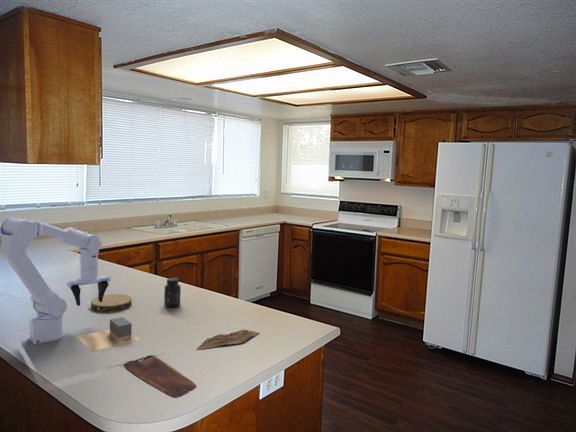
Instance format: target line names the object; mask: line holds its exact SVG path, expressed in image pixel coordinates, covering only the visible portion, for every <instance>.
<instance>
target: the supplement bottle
mask: <svg viewBox="0 0 576 432" xmlns="http://www.w3.org/2000/svg"><path fill="white" fill-rule="evenodd" d="M163 289H164V290H163V291H164V293H163V295H164V296H163V297H164V298H163V299H164V300H163V303H164V307H165V308H167V309H176V308H179V307H180V306H181V295H182V294H181V285H180V284H179V278H178V277H169V278H167V279H166V284H165V285H164V288H163Z"/></svg>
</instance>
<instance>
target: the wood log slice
mask: <svg viewBox="0 0 576 432" xmlns="http://www.w3.org/2000/svg"><path fill="white" fill-rule="evenodd" d="M132 301H133V299H132V297H131V296H130V295H127V294H122V293H121V294H120V293H119V294H118V293H116V294H115V293H114V294H113V293H111V294H104V296H103V300H102V302H99V301H98V296H97V297H94V298H93V299H92V300H91V301H90V306H91V307H90V308H91V310H93V311H94V312H98V313H114V312H121V311H124V310H126V309H127V310H128V309H129V308H131V306H132Z"/></svg>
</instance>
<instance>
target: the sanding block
mask: <svg viewBox="0 0 576 432" xmlns="http://www.w3.org/2000/svg"><path fill="white" fill-rule="evenodd" d="M132 325H133V324H132V323H131V322H130V321H129V320H127V319H126V318H125V317H124V316H121V317H115V318H111V319H109V330H110V334H111V335H112V336H113V337H114V338H116V339H117V340H118V341H119V340H124V339H128V338H131V333H132Z"/></svg>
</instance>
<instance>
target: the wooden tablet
mask: <svg viewBox="0 0 576 432" xmlns="http://www.w3.org/2000/svg"><path fill="white" fill-rule="evenodd" d="M124 367H125V368H126V369H127V370H129V371H130V372H131V373H133V374H134V375H135V376H137V377H138V378H140V379H141V380H142V381H145V382H146V383H148V384H149V385H151V386H152V387H154V388H156V389H158V390H159V391H161V392H162V393H165V394H167V395H168V396H171V397H175V398H177V397H180V396H181V397H182V396H183V395H187V394H189V393H190V392H193V391H194V390H196V388H197V384H195V383H194V382H193V380H191V379H190V378H188V377H186V376H185V375H183V374H182V373H181V372H179V371H178V370H177V369H175V368H174V367H172V366H171V365H170V364H168V363H167V362H165V361H163V360H162V359H160V358H158V357H156V356H155V355H147V356H146V357H144V358H143V359H142V360H132V361H129V362H126V363H124Z"/></svg>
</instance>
